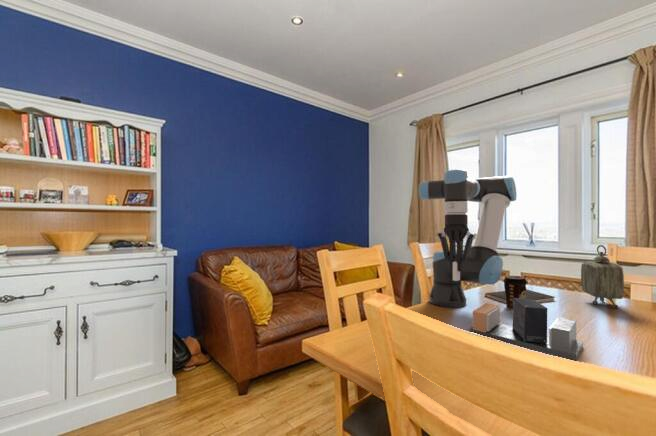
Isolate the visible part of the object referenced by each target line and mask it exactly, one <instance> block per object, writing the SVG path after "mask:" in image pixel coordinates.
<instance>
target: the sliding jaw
mask: <svg viewBox="0 0 656 436" xmlns="http://www.w3.org/2000/svg"><path fill="white" fill-rule="evenodd" d="M500 308H501V307H499V305H498V304H497V305H496V304H493V303H492V304H491V303H485V304H482V305H481V306H479V307H477V308H476V309H474V310H473V311H472V326H473V330H477V331H481V332H485V333H486V332H487V331H490V330H491V329H492V328H494V327H495V326H496V325H497V324H499V323H500V324H501V310H500Z"/></svg>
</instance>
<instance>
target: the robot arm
mask: <svg viewBox="0 0 656 436" xmlns="http://www.w3.org/2000/svg"><path fill="white" fill-rule="evenodd" d="M418 195H419V198H420V199H422V200H428V201H429V200H444V213H445V215H444V228H443V230H442V231H441V232H438V233H437V236H438V239H440V243H441V244H440V245H441V248H442V250H437V251H435V252H434V253H433V257H432V276H433V278H432V282H433V285H432V287H431V291H430V293H429V303H430V302H431V304H432V303H433V304H432V305H434V304H435V306H437V305H440V306H439V307H442V306H445V307H444V308H461V307H462V306H463V307H465V306H466V305H467V298H466V294H465V291H464V289H463V286H462V283H463V282H466V283H473V284H481V285H492V286H493V285H495V284H497V283H498V282H499V281H500V279H501V276H502V273H503V266H504V262H503V259H502V257H501V256H500V253H499V251H497V248H498V244H499V239H500V234H501V230H502V226H503V220H504V216H505V211H506V209H507V208H509V207H510V205H511V202H516V200H517V188H516V182H515V179H514V178H513V176H511V175H501V176H491V177H477V178H472V177H468V171H467V170H466V169H449V170H447V171H445V173H444V179H440V180H430V181H429V180H427V181H421V183H419V185H418ZM468 202H474V203H481V204H482V205H483V209H482V212H481V216H480V222H479V224H478V228H477V232H476V233H473V232H471V231H470V229H469V227H468V215H467V214H468ZM465 237H466V238H467V239H466V240H465V244H464V239H465ZM447 238H448V240H447ZM474 239H475V241H474ZM473 241H474V245H473ZM464 245H465V246H464ZM472 245H473V246H472Z"/></svg>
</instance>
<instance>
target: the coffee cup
mask: <svg viewBox="0 0 656 436" xmlns="http://www.w3.org/2000/svg"><path fill="white" fill-rule="evenodd" d="M502 282H503V283H504V284H503V285H504V291H505V296H506V297H505V298H506V303H505V305H506V306H505V307H506V309H507V310H509V311H513V298H523V299H525V298H526V289H527V286H526V285H528V284H529V282H528V281H527V278H525V276H524V277H523V276H520V275H505V276H504V278H503V281H502Z"/></svg>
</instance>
